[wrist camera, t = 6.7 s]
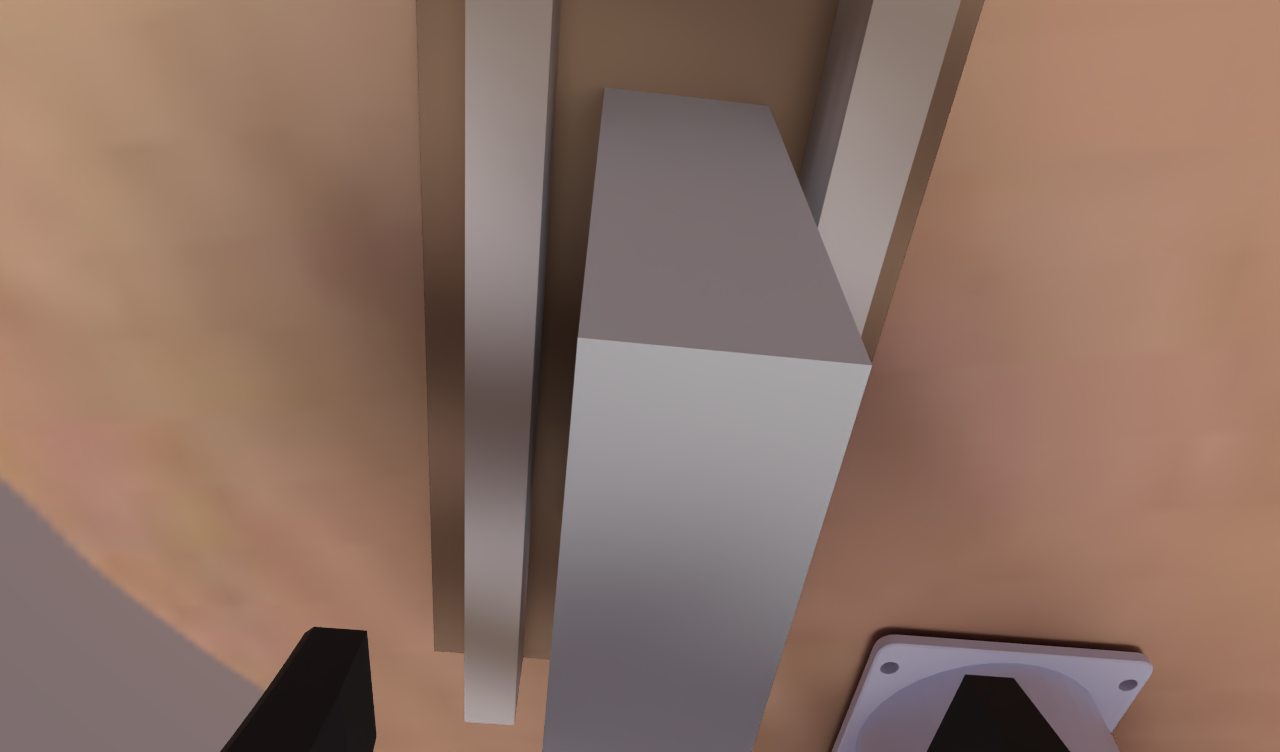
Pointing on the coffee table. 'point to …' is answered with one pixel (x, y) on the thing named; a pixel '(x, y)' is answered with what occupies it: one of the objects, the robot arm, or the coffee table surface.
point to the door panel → (694, 430)
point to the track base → (559, 230)
